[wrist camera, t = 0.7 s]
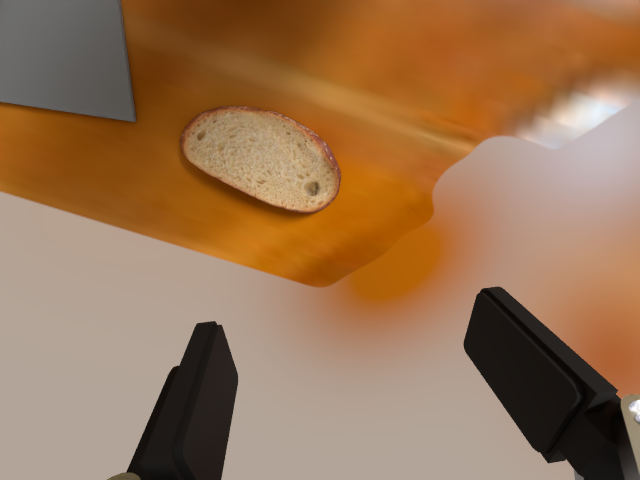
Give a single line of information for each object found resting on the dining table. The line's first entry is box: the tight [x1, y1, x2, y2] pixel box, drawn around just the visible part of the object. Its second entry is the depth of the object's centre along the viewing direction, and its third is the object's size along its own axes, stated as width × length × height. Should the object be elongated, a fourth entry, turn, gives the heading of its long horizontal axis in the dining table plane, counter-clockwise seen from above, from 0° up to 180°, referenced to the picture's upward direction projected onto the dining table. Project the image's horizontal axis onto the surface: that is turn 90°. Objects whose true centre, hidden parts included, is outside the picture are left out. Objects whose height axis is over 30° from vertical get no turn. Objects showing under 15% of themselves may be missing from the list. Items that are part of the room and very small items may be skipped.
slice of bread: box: [180, 106, 341, 214], centre depth 36 cm, size 18×18×4 cm
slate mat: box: [0, 0, 136, 122], centre depth 27 cm, size 20×16×1 cm
